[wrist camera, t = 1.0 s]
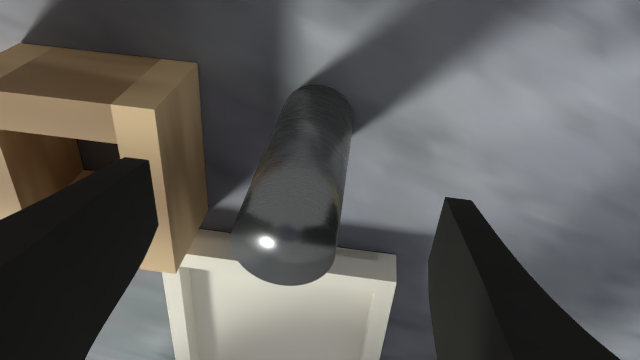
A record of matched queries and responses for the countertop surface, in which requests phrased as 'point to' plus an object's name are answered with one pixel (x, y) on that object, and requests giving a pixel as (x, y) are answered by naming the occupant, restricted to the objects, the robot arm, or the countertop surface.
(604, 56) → the countertop surface
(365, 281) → the tray
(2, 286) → the robot arm
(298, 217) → the cylinder
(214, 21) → the countertop surface
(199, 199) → the wooden square frame
